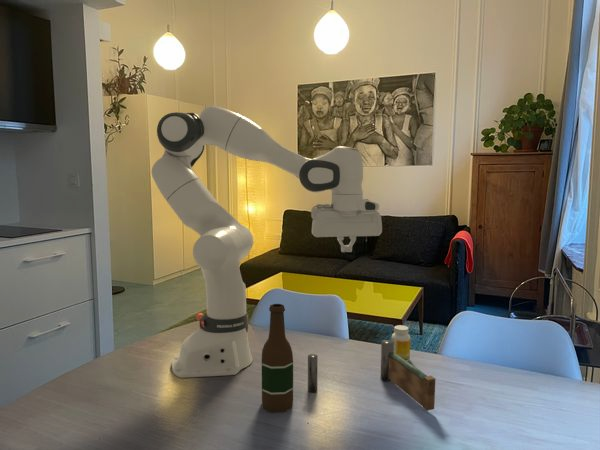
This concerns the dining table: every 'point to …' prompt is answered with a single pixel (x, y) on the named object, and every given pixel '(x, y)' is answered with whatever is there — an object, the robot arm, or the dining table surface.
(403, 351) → the supplement bottle
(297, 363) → the dining table surface
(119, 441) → the dining table surface
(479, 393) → the dining table surface
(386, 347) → the posts
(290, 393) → the beer bottle
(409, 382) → the brown wooden panel
